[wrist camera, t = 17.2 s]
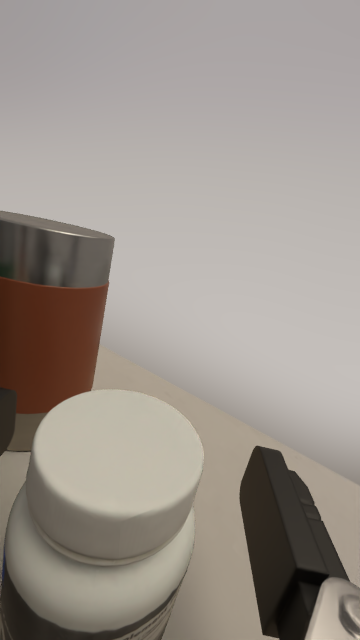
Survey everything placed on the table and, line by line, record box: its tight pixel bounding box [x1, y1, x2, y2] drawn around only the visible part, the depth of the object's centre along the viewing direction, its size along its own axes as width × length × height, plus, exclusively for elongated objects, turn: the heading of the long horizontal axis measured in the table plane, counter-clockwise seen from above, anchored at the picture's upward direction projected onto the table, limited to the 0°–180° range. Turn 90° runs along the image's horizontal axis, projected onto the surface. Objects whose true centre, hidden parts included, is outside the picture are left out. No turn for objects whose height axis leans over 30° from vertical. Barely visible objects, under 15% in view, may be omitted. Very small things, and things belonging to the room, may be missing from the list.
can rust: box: [0, 211, 115, 451], centre depth 17 cm, size 7×7×12 cm
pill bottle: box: [0, 389, 204, 640], centre depth 8 cm, size 5×5×8 cm
